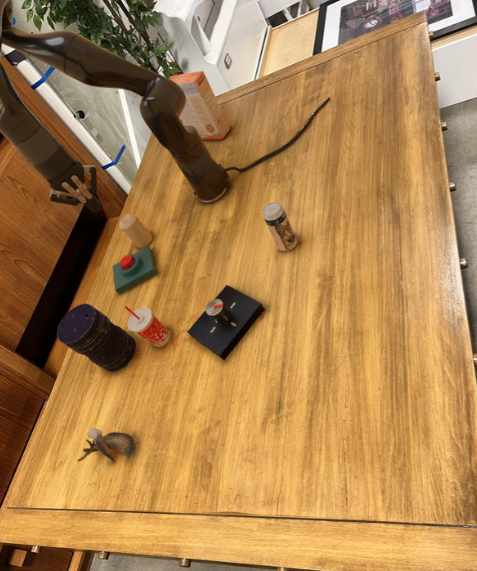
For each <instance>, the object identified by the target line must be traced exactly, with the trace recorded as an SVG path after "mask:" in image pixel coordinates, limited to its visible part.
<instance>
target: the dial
mask: <svg viewBox="0 0 477 571" xmlns="http://www.w3.org/2000/svg"><path fill="white" fill-rule="evenodd" d="M205 310H206V313H207V314H208V315H209V316H210V318H211V319H212V320H213V321H214V322H215V323H216V324H217V325H219V326H223V325H226V324H227V323H228V322H229V321H230V320H231V312H230V311H229V310H228V308H227V307H226V306H225V304H224V303H223V302H222V301H221V300H220V299H215V298H214V299H211V300H210V301H208V303H207V304H206V306H205Z"/></svg>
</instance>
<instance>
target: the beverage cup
mask: <svg viewBox="0 0 477 571" xmlns="http://www.w3.org/2000/svg"><path fill="white" fill-rule="evenodd" d="M124 309H125V310H127V311H128V312H129V313H130V316H129V318H128V320H127V328H128V329H129V331H130V332H132V333H134V334H137V335H138V336H140V337H141V338H143V339H144V340H146V342H149V343H150V344H152V345H153V346H154V347H157V348H160V347H163V346H165V345H166V344H168V342H169V340H170V337H171V332H170V331H169V330H168V328H167V327H165V325H164V324H163V323H162V322H161V321H160V320H159V319H158V318H157V316H156V315H154V312H153V311H152V310H151V309H150V308H149V307H146V306H143V307H139V308H137V309H135V310H134V311H133V310H131V309H130V307H128V306H127V305H125V306H124Z"/></svg>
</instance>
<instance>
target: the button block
mask: <svg viewBox="0 0 477 571" xmlns="http://www.w3.org/2000/svg"><path fill="white" fill-rule="evenodd" d="M129 255H130V256H131V257H132V258H133V259H134V261H135V262H134V265H133V266H132V267H131V268H129V269H124V268H123V267H122V266H121V265H120V261H118V262H117V263H115V264H113V265H112V273H113V274H112V275H113V284H114V291H115V292H116V293H118V294H119V295H122V294H123V293H125V292H127V291H129V290H131V289H133V288H134V287H136V286H138V285H140V284H142V283H143V282H145V281H147V280H150V279H151V278H153V277H154V276H156V275H158V269H157V265H156V259H155V256H154V250H153V249H152V248H151V247H150V245H147V246H145V247H143V248H141V249H140V250H138V251H136V252H134V253H129Z"/></svg>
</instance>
